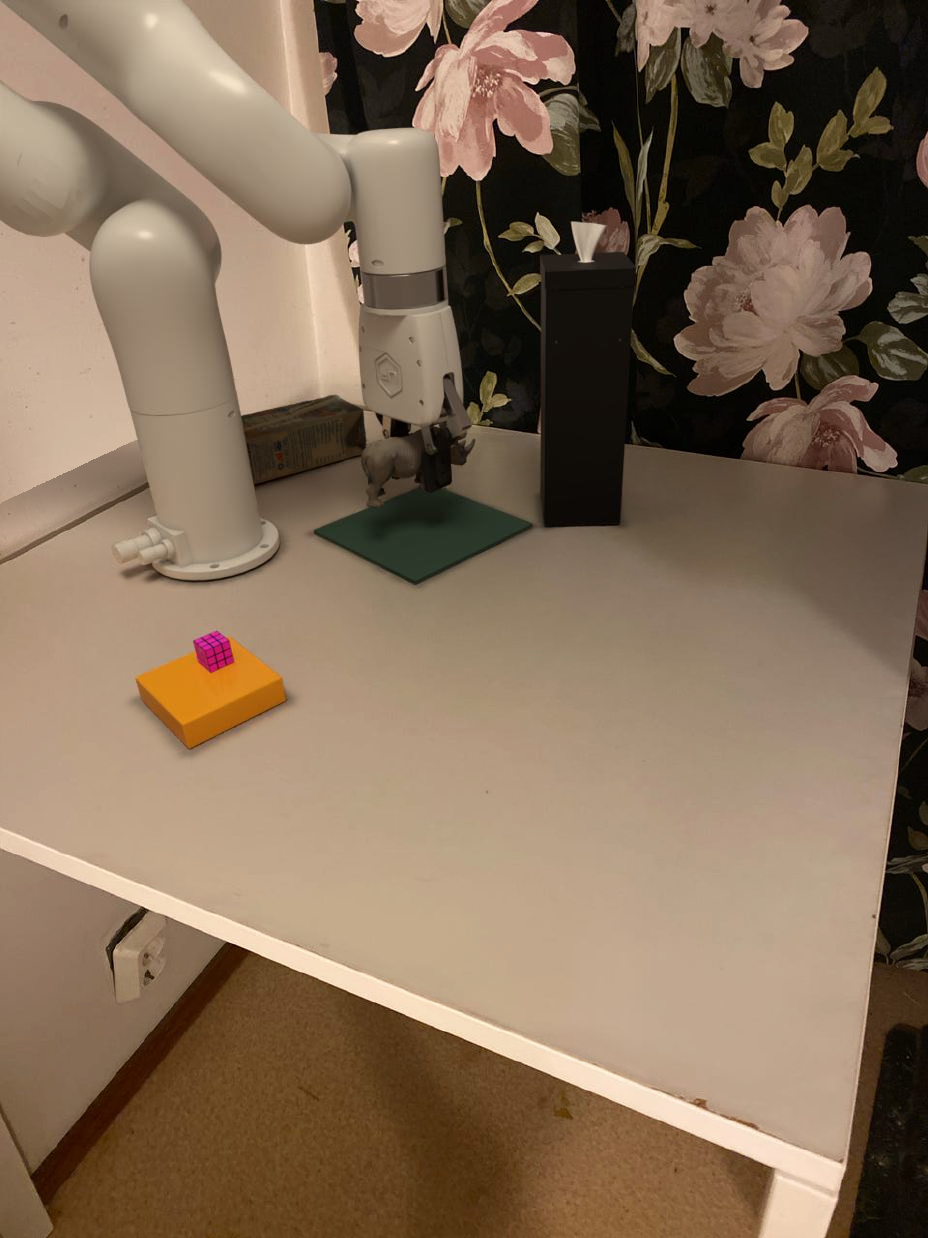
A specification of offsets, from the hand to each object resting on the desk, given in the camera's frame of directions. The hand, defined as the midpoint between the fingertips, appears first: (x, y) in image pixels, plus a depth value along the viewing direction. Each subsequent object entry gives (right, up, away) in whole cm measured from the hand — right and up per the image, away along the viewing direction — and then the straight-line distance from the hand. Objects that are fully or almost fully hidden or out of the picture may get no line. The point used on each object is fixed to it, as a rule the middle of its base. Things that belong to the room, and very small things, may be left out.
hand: (421, 479), depth 86 cm
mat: (0, -5, +3) cm, 6 cm away
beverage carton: (-17, +5, +20) cm, 27 cm away
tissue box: (+16, -3, +5) cm, 17 cm away
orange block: (-15, -20, -20) cm, 32 cm away
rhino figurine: (0, -1, 0) cm, 1 cm away
